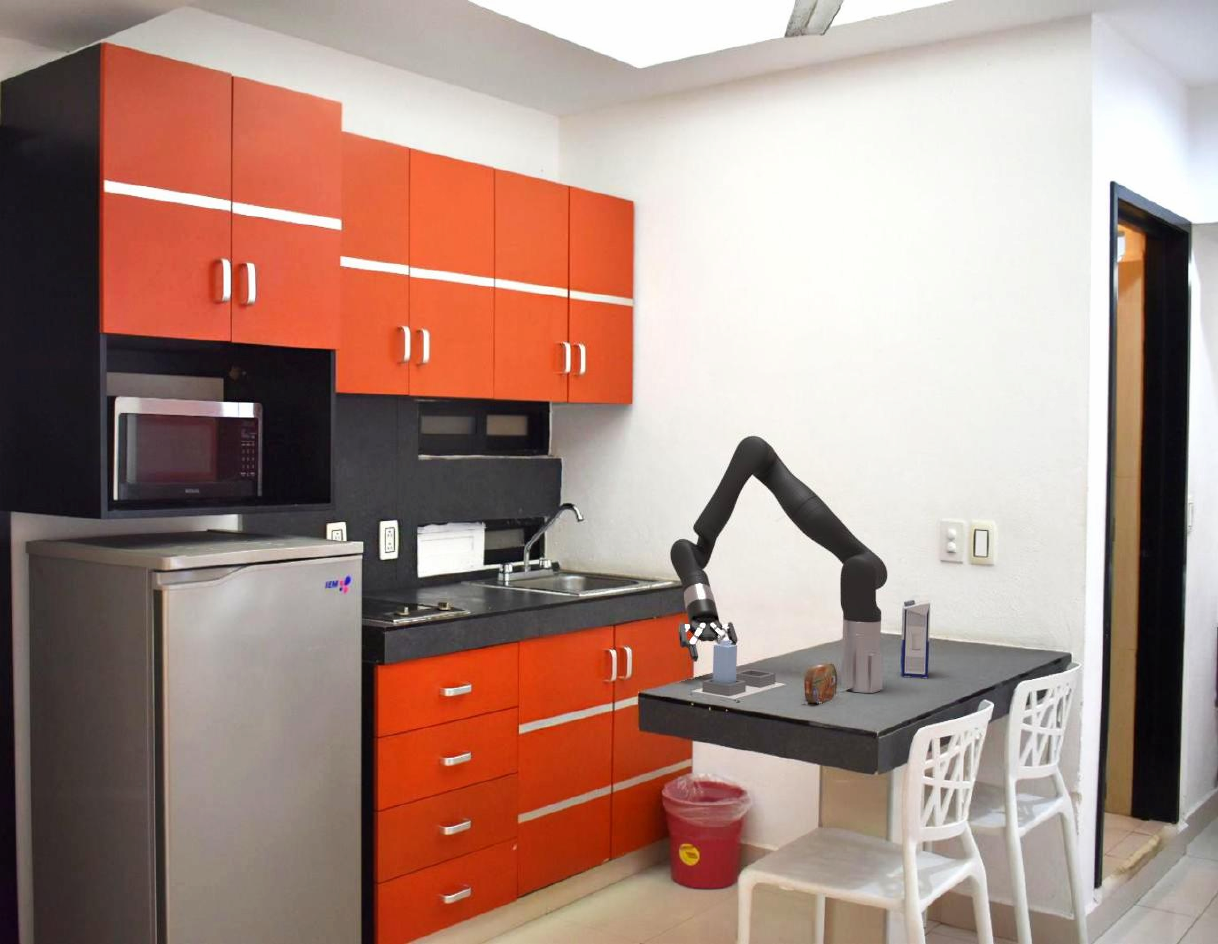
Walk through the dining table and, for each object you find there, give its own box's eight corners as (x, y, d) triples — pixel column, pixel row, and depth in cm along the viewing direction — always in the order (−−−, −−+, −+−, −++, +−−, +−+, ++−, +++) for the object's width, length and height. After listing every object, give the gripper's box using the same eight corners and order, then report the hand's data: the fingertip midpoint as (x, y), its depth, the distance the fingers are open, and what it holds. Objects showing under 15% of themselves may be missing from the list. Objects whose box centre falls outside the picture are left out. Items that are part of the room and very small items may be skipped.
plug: (735, 691, 284) (737, 640, 284) (726, 694, 281) (728, 642, 281) (721, 689, 286) (723, 638, 286) (712, 691, 283) (713, 640, 283)
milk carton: (927, 678, 313) (930, 602, 312) (901, 677, 314) (903, 601, 314) (926, 673, 320) (928, 599, 319) (900, 672, 321) (902, 597, 320)
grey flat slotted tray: (785, 688, 295) (786, 674, 295) (734, 703, 276) (734, 688, 276) (744, 681, 302) (744, 667, 302) (691, 695, 283) (691, 680, 283)
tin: (813, 707, 274) (815, 670, 274) (801, 705, 276) (802, 668, 276) (838, 696, 287) (839, 661, 287) (825, 694, 289) (826, 660, 288)
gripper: (676, 597, 299) (688, 651, 288) (731, 597, 302) (744, 650, 291) (670, 615, 304) (681, 668, 293) (724, 615, 307) (736, 668, 296)
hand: (713, 659), depth 292 cm, fingers open, 8 cm apart
